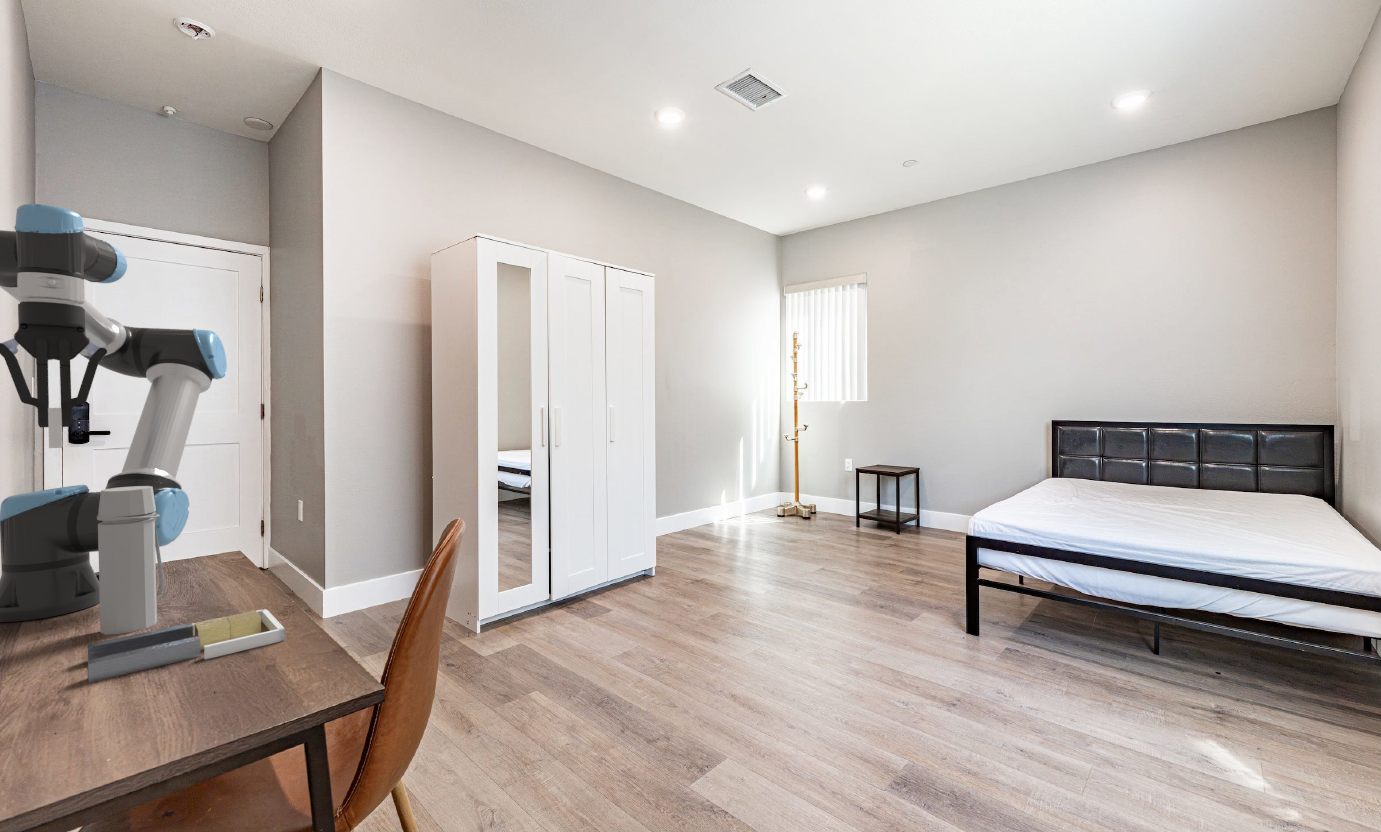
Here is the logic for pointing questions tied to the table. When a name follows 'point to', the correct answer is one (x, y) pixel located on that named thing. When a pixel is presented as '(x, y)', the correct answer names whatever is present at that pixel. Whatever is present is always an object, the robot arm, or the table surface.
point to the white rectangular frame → (247, 638)
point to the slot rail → (141, 651)
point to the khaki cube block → (244, 624)
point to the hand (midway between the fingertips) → (55, 447)
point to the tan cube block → (212, 631)
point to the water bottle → (128, 559)
